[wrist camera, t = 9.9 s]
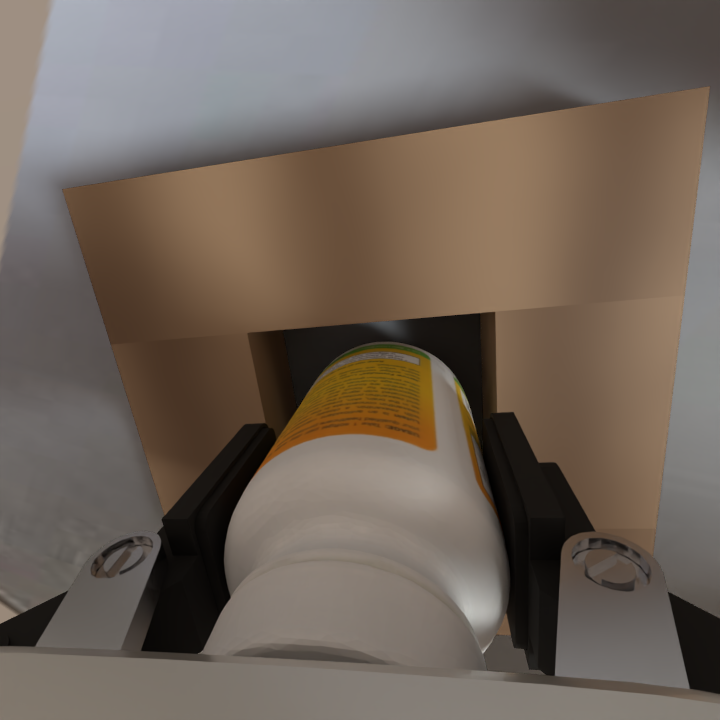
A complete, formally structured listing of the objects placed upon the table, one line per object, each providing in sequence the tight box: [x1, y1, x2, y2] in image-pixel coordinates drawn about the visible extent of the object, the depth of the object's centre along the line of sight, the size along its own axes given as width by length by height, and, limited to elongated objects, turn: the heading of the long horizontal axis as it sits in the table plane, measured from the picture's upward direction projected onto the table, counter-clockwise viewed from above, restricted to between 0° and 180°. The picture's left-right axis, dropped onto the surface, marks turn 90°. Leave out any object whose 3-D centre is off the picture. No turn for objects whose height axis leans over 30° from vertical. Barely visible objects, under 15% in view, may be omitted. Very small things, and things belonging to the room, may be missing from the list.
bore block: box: [62, 86, 710, 635], centre depth 14 cm, size 16×16×3 cm
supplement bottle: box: [202, 342, 510, 671], centre depth 10 cm, size 5×5×10 cm
